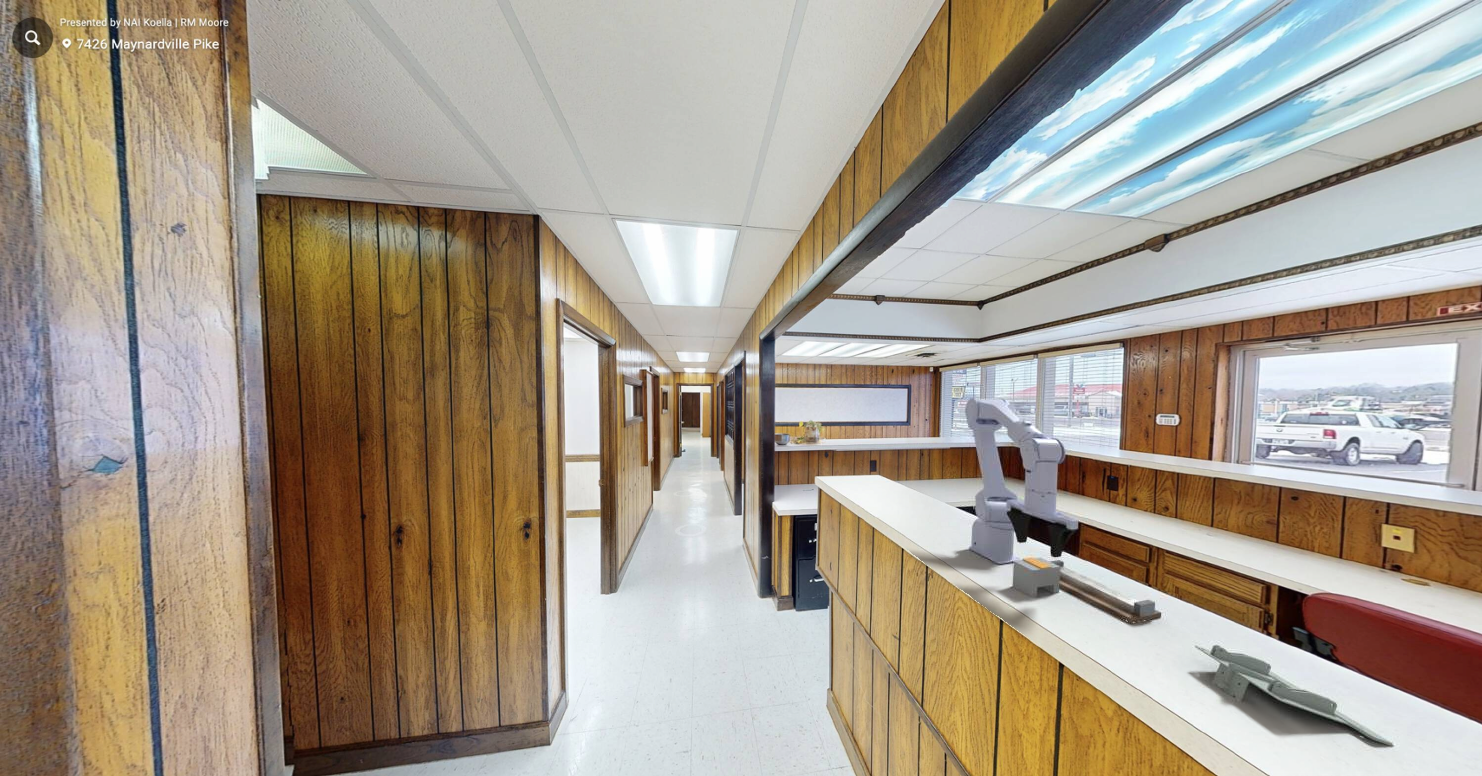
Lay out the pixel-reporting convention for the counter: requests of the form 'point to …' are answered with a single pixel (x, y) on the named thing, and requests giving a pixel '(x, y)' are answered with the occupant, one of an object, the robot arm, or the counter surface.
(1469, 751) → the counter surface
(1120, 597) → the din rail
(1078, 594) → the mounting plate
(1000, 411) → the robot arm
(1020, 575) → the block
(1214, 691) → the counter surface
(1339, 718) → the metal bracket
